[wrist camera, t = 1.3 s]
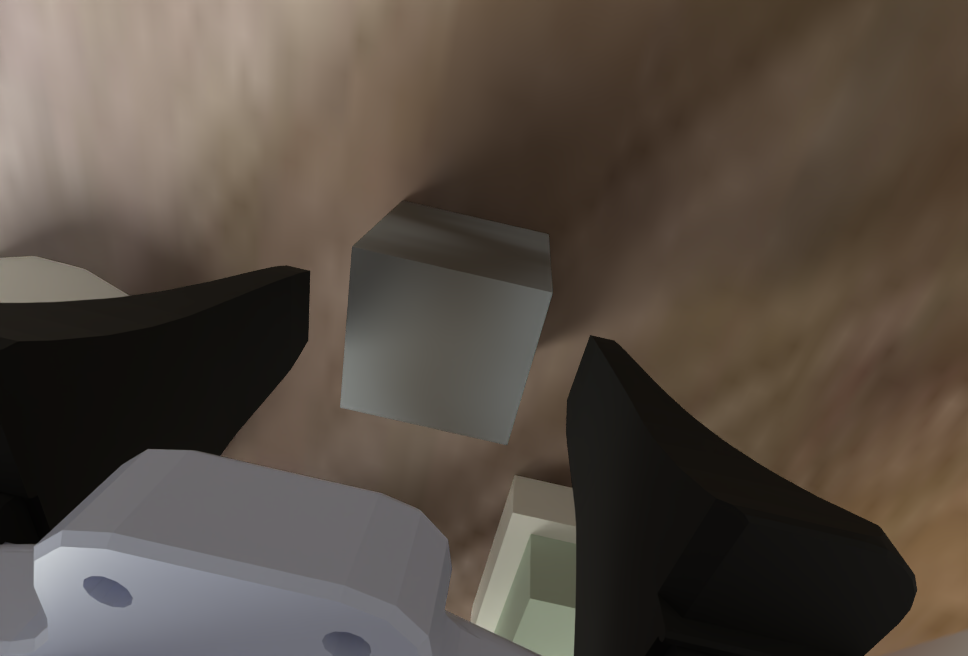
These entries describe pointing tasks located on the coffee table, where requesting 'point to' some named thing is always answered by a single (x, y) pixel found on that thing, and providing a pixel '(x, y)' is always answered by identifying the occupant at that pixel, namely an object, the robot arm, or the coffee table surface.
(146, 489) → the robot arm
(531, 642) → the tower top slab
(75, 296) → the teardrop
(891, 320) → the coffee table surface
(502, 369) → the slate cube
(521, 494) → the tower base slab
